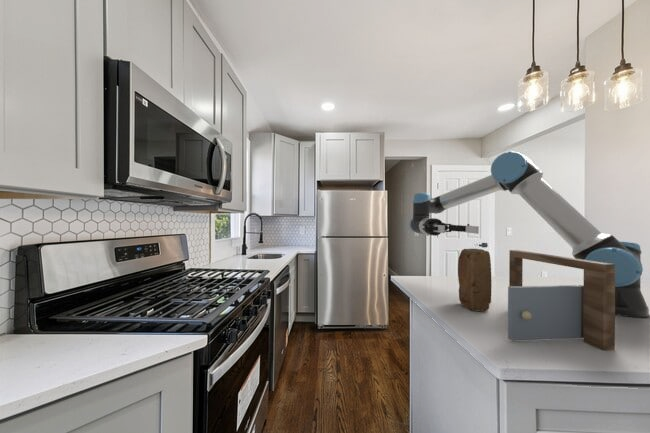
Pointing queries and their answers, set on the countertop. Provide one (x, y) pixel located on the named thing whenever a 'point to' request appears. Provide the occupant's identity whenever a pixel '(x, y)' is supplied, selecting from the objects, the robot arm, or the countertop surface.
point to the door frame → (595, 293)
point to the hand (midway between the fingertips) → (461, 229)
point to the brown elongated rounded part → (474, 279)
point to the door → (545, 312)
